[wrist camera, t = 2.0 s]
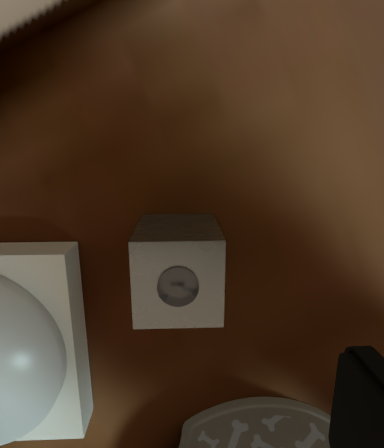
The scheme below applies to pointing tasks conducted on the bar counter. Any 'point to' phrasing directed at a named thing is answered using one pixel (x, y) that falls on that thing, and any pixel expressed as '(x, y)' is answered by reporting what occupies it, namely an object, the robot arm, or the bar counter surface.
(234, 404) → the dog bowl
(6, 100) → the bar counter surface
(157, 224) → the grey block with knob
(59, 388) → the scale
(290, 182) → the bar counter surface
